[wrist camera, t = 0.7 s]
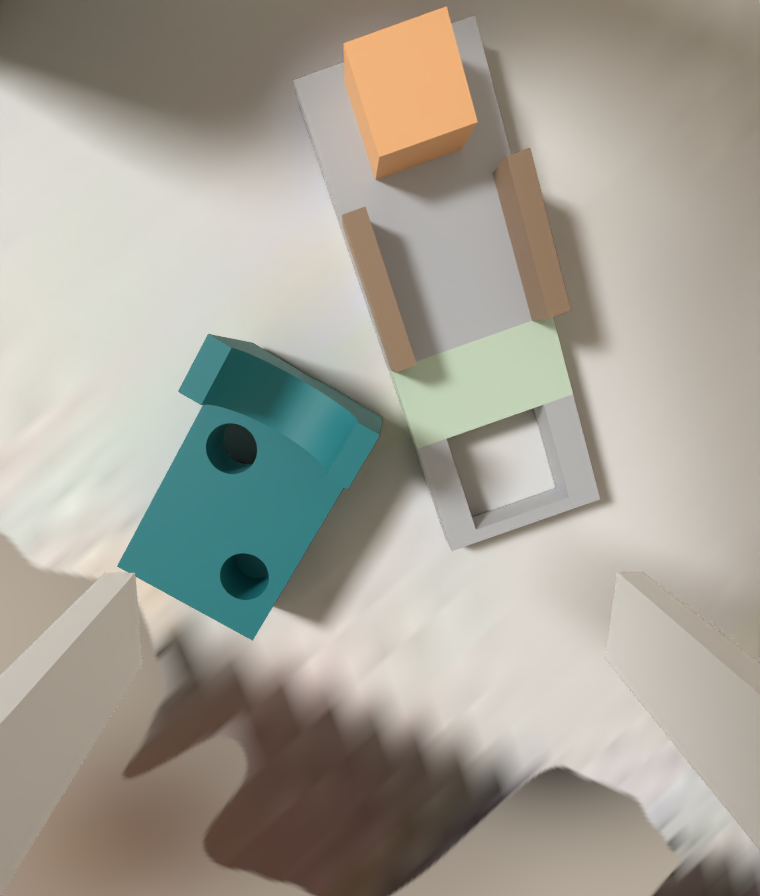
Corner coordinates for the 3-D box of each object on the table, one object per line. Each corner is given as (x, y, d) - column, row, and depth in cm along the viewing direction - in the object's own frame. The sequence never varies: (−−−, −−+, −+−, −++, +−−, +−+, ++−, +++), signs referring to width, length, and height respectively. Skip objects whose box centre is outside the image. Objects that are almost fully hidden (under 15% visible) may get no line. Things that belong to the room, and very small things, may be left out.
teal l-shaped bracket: (257, 343, 37) (208, 333, 27) (382, 417, 38) (380, 435, 28) (150, 541, 40) (68, 602, 29) (269, 607, 40) (228, 688, 30)
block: (344, 80, 31) (343, 43, 27) (434, 48, 31) (446, 6, 27) (375, 179, 33) (379, 157, 29) (462, 148, 32) (477, 122, 29)
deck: (297, 99, 34) (287, 52, 28) (465, 39, 33) (488, -20, 28) (445, 538, 41) (460, 568, 35) (584, 489, 40) (621, 512, 35)
